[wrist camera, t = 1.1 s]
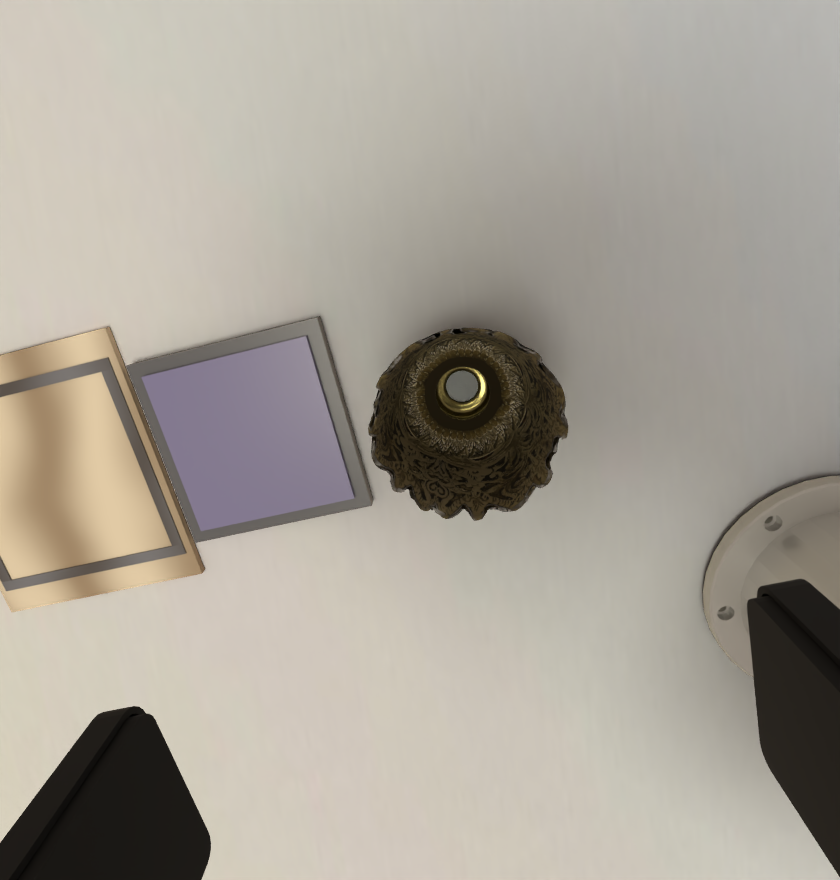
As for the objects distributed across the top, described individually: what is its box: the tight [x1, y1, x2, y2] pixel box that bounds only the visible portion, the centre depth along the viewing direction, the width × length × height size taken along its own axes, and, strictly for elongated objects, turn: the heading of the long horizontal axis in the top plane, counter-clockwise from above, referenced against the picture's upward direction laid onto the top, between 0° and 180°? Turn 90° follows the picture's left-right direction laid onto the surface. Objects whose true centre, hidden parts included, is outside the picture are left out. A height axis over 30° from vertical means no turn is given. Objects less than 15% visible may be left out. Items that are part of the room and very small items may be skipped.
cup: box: [368, 328, 568, 521], centre depth 25 cm, size 8×7×8 cm
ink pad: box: [127, 316, 373, 543], centre depth 30 cm, size 10×10×1 cm
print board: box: [0, 327, 205, 612], centre depth 31 cm, size 12×14×1 cm
